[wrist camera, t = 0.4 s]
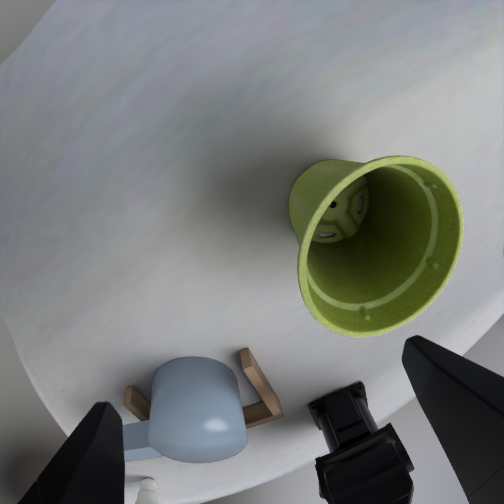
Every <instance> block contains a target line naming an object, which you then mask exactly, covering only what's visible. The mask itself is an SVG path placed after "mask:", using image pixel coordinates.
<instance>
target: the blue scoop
mask: <svg viewBox="0 0 504 504" xmlns="http://www.w3.org/2000/svg"><path fill="white" fill-rule="evenodd" d="M247 441H248V439H247V432H246V427H245V421H244V415H243V409H242V403H241V397H240V391H239V385H238V380H237V377H236V375H235V373H234V372H233V371H232V370H231V369H230V368H229V367H228V366H226V365H225V364H223V363H221V362H219V361H217V360H214V359H210V358H205V357H183V358H178V359H174V360H172V361H169V362H167V363H166V364H164V365H163V366H161V367H160V368H159V369H158V370H157V372H156V373H155V375H154V378H153V387H152V397H151V408H150V420H146V421H141V422H137V423H132V424H127V425H123V444H124V458H125V462H129V461H137V460H144V459H150V458H157V457H163V456H165V457H168V458H170V459H173V460H177V461H182V462H188V463H210V462H216V461H221V460H225V459H228V458H230V457H232V456H235V455H236V454H238V453H239V452H241V451H242V450H243V449H244V448H245V446H246V444H247Z"/></svg>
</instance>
